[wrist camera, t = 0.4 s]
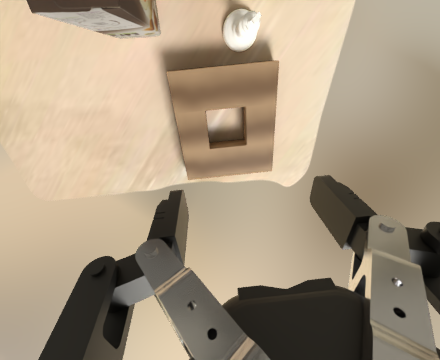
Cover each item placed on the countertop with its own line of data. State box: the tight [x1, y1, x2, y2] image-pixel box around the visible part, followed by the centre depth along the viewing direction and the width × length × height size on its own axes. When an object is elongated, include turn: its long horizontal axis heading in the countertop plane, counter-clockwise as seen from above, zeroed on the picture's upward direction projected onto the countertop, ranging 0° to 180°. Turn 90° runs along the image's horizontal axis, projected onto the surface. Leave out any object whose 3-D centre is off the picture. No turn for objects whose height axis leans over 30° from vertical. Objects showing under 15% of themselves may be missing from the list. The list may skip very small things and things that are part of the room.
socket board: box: [166, 61, 279, 180], centre depth 34 cm, size 18×16×3 cm
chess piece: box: [223, 9, 261, 52], centre depth 24 cm, size 5×5×10 cm
